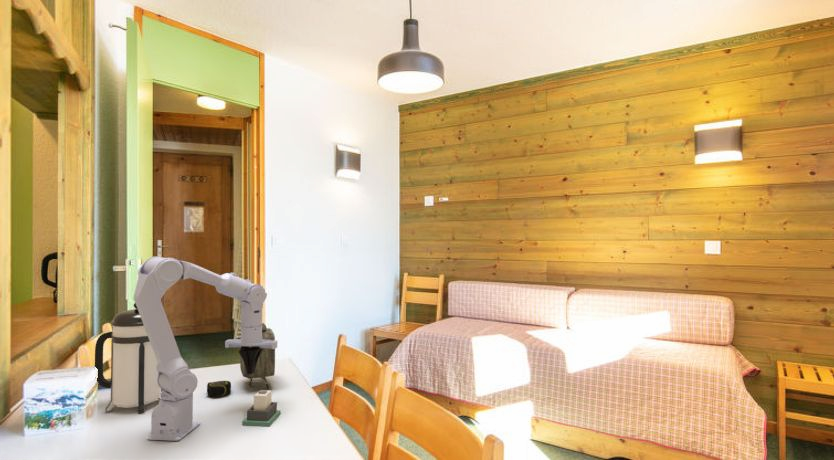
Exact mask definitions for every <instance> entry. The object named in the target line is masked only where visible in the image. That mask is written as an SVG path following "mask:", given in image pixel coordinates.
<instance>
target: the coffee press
mask: <svg viewBox="0 0 834 460" xmlns="http://www.w3.org/2000/svg"><path fill="white" fill-rule="evenodd" d="M110 325H111V327H112V331H108V332H104V333H101V334H100V336H98V338H97V340H96V342H95V345H94V346H95V348H94V368H95V367H96V368H97V369H98V378H97V380H96V382H97V384H99V386H101V387H102V388H105V389H110V400H109V402H108V403H107V405H106V406H105V412H106V413H111V412H112V411H113V410H114V409H117V408H124V409H125V408H127V409H130V408H137V413H138V415H141V414H145V412H146V410H145V406H146V405H149V404H152V403H153V402H155V401H157V400H159V401H160V398H161V392H162V389H161V388H160V387H159V386H158V383H157V377H158V371H157V368H156V367H157V365H158V362H157V359H156V356H155V354H154V351H153V348H152V346H151V343H150V341H149V338H148V335H147V333H146V330H145V327H144V325H143V322H142V319H141V317H140V314H139V311H138V309H137V306H136V303H135V302H134V304H133V309H128V310H124V311H120V312H119V313H117V314H116V315H115V316H114V317H113V319H112V320H111V322H110ZM108 339H111V347H110V349H111V352H110V353H111V354H110V355H111V356H110V359H111V360H110V361H111V362H110V380H107V379H106V378H105V376H104V345H105V342H106V341H107V340H108ZM111 404H113V406H112V407H111V408H110V409H109V410H108V408H109V407H110V406H111Z"/></svg>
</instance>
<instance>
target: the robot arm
mask: <svg viewBox="0 0 834 460" xmlns="http://www.w3.org/2000/svg"><path fill="white" fill-rule="evenodd" d="M237 275H238V274H237V273H235V272H230V273H229V272H226V273H223V274H221V275H220V274H218V273H215V272H213V271H210V270H209V269H206V268H205V267H201V266H200V265H197V264H195V263H192V262H189V261H184V260H178V259H176V258H174V257H162V256H157V255H156V256H152V257H151V256H150V257H149V258H147V259H146V260H145V261H144V262H143V263H142V265H141V266H140V268H138V271H137V276H138V277H137V282H136V286H135V290H134V294H133V299H134V300H133V301H134V303H136V306H137V309H138V311H139V314H140V317H141V319H142V322H143V325H144V327H145V330H146V333H147V335H148V338H149V341H150V343H151V346H152V348H153V351H154V354H155V356H156V359H157V362H158V365H157V367H156V368H157V371H158V377H157V383H158V386H159V387H160V388H161V389H162V392H161V395H160V397H159V398H160V400H159V401H158V402H159V403H158V404H157V405H156V406H155V407H154V409H153V410H152V413H151V419H150V420H151V421H150V423H151V425H150V426H151V427H150V431H151V432H150V434H151V435H149V436H148V437H147V440H149V441H151V440H152V441H173V442H179V441H181V440H182V439H183V438H184V437H185V436H188V434H190V433H191V432H193V430H195V429H196V428H197V427H199V426H200V425H201V422H195V421H193V416H194V415H193V414H194V413H193V410H194V409H193V407H194V405H193V404H194V395H193V394H194V392H195V391H196V389H197V387H198V377H197V376H196V374H195V373H193V372H192V371H191V369H190V368H189V366H188V364H187V362H186V361H185V359H183V357H182V355H181V353H180V352H181V351H180V349H179V347H178V344H177V341H176V339H175V335H174V333H173V330H172V327H171V325H170V322H169V320H168V316H167V314H166V311H165V308H164V305H163V302H162V298H163V296H164V295H165V294H166V292H167V291H168V290H169V289H170V288H171V287H173V286H174V285H175V284H176V283H178V281H179V280H188V279H193V280H195V281H198V282H201V283H204V284H208V285H210V286H213V287H215V290H216V292H217V293H219V294H221V295H223V296H227V297H230V298H233V299H235V300H238V301H239V302H240V307H241V308H240V338H241V339H240V338H237V339H235V338H233V339H232V338H231V339H230V338H229V339H227V340H225V341H224V345H225V346H224V347H225V349H228V348H240V347H241V350H240V349H239V350H238V353H239V356H240V355H241V357H242V359H243V361H244V363H245V366H246V370H247V374H253V373H254V372H255V368H256V364H257V361H258V358H259V356H260V354H261V352H262V350H263V348H271V349H275V350H276V349H277V348H278V340H275V341H274V340H266V339H262V323H263V309H264V303H265V301H266V299H267V296H268V293H267V292H266V288H264V286H263V285H262V284H257V283H252V280H251V279H247V278H246V279H244V278H241V277H239V276H237Z"/></svg>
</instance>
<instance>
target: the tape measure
mask: <svg viewBox="0 0 834 460" xmlns="http://www.w3.org/2000/svg"><path fill="white" fill-rule="evenodd" d="M231 391H232V383H231V381H229V380H219V381H211V382H207V384H206V392H207V395H208V396H209V397H213V398H214V397H217V398H218V397H219V398H220V397H224V396H227V395H228V394H230V393H231Z"/></svg>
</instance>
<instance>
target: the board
mask: <svg viewBox="0 0 834 460" xmlns="http://www.w3.org/2000/svg"><path fill="white" fill-rule="evenodd" d="M277 407H278V402H277V401H276V402H275V401H271V406H270V407H269V408H268V409H267V410H266V411H263V410H254V404H253V405H252V406H250V407H249V408H248V409H247V410H246V417H245V418H244V419H243V420H242V423H241V424H242V425H241V426H245V427H246V426H248V427H271V425H272V424H273V423H274V422H275V421H276V419H277V418H279V416H280V415H281V412H282V410H280V409H278V408H277Z"/></svg>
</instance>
